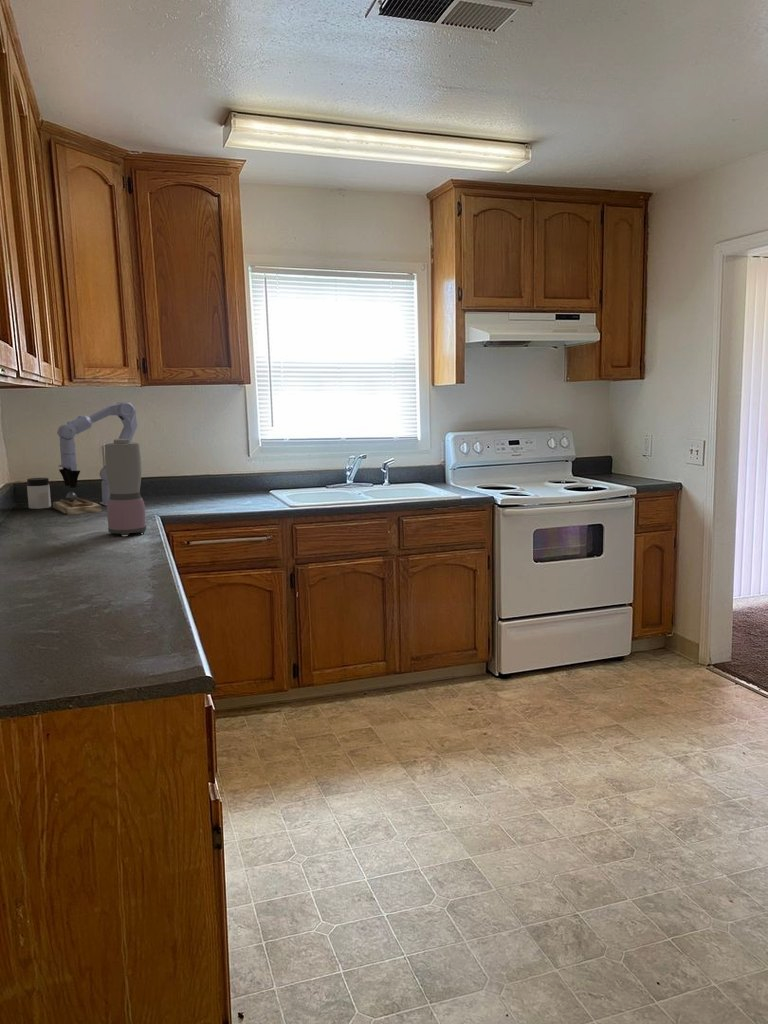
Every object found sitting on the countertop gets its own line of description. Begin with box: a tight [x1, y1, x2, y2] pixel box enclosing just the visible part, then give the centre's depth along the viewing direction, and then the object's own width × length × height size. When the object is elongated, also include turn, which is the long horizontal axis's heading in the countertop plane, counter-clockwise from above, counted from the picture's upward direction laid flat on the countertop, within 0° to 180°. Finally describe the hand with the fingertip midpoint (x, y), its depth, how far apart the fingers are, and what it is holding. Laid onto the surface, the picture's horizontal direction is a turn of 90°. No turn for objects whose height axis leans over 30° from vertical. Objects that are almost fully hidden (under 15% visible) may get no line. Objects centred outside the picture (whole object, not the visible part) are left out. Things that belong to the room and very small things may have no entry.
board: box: [52, 497, 103, 516], centre depth 305 cm, size 13×22×3 cm, turn 37°
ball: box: [65, 491, 78, 502], centre depth 311 cm, size 4×4×4 cm
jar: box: [26, 477, 52, 510], centre depth 311 cm, size 9×8×12 cm
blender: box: [104, 438, 147, 536], centre depth 253 cm, size 16×12×32 cm
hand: (70, 486), depth 310 cm, fingers open, 7 cm apart
